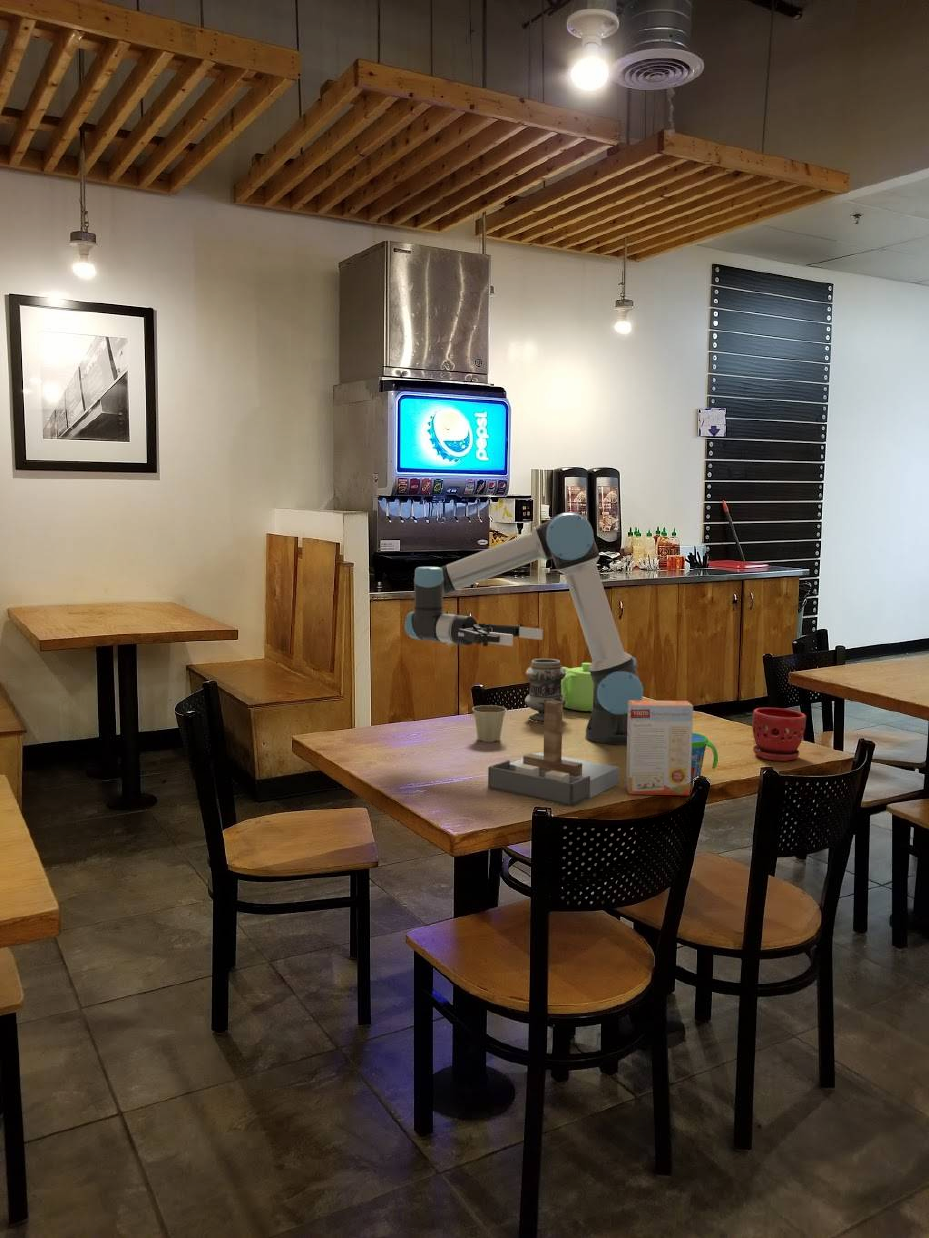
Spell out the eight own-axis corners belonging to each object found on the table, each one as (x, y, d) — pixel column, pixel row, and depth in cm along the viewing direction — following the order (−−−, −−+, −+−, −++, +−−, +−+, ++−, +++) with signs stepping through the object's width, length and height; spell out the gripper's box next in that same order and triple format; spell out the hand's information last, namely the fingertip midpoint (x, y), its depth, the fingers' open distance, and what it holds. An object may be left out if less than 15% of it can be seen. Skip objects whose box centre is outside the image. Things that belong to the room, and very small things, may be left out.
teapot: (556, 713, 310) (557, 667, 308) (558, 700, 330) (559, 656, 328) (617, 715, 308) (619, 669, 306) (615, 702, 328) (617, 658, 326)
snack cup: (643, 777, 240) (645, 735, 239) (662, 768, 249) (664, 727, 248) (705, 789, 231) (707, 746, 230) (723, 779, 240) (725, 737, 239)
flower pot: (511, 742, 273) (512, 711, 272) (479, 745, 269) (480, 713, 268) (497, 734, 282) (498, 704, 281) (466, 737, 278) (467, 706, 277)
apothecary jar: (547, 713, 309) (549, 655, 307) (573, 720, 299) (575, 661, 297) (516, 717, 303) (517, 659, 300) (541, 725, 293) (543, 664, 290)
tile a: (522, 763, 232) (515, 766, 230) (539, 766, 230) (532, 769, 227) (522, 782, 233) (515, 785, 230) (538, 785, 230) (531, 788, 228)
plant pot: (789, 766, 252) (791, 719, 250) (741, 756, 261) (743, 711, 259) (812, 757, 261) (815, 711, 260) (765, 747, 270) (767, 704, 269)
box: (507, 780, 236) (507, 759, 236) (589, 797, 223) (590, 776, 223) (488, 788, 230) (488, 767, 229) (571, 806, 217) (572, 784, 216)
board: (538, 767, 248) (539, 752, 247) (618, 783, 235) (619, 767, 234) (507, 780, 236) (507, 763, 236) (589, 797, 223) (590, 780, 223)
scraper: (529, 763, 236) (531, 696, 234) (582, 774, 228) (583, 704, 226) (523, 766, 234) (524, 698, 232) (575, 776, 226) (577, 707, 224)
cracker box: (685, 788, 231) (689, 699, 229) (690, 796, 225) (694, 705, 223) (624, 787, 232) (627, 698, 229) (628, 795, 226) (631, 704, 223)
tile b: (552, 770, 227) (545, 773, 224) (569, 773, 224) (562, 776, 222) (551, 789, 227) (544, 792, 225) (569, 793, 225) (562, 796, 222)
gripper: (485, 638, 270) (553, 646, 258) (428, 649, 250) (498, 658, 238) (485, 611, 269) (553, 617, 257) (428, 619, 249) (499, 627, 237)
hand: (527, 637), depth 247 cm, fingers open, 13 cm apart
